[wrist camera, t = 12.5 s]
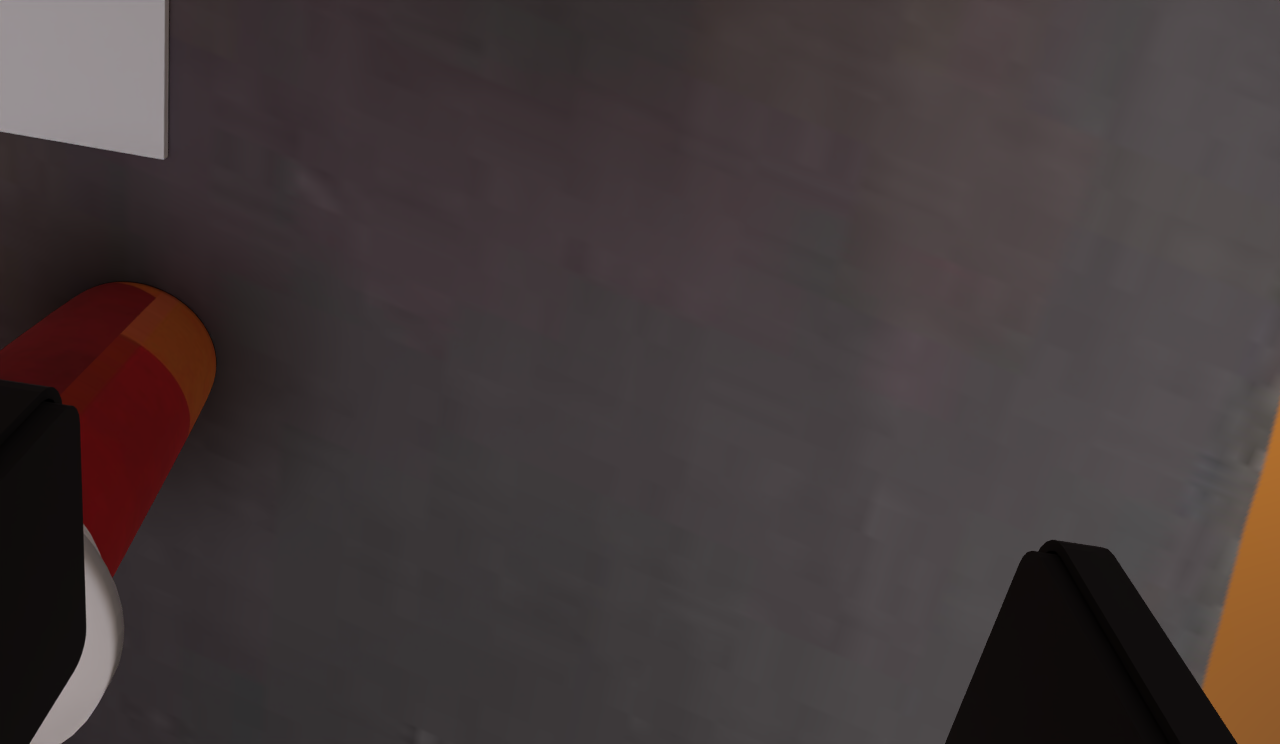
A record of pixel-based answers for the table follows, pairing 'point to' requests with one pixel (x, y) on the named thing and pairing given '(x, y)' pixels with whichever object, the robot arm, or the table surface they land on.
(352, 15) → the table surface
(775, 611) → the table surface
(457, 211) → the table surface
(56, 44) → the mat
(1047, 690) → the robot arm
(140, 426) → the coffee cup
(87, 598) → the lid
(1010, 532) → the table surface
